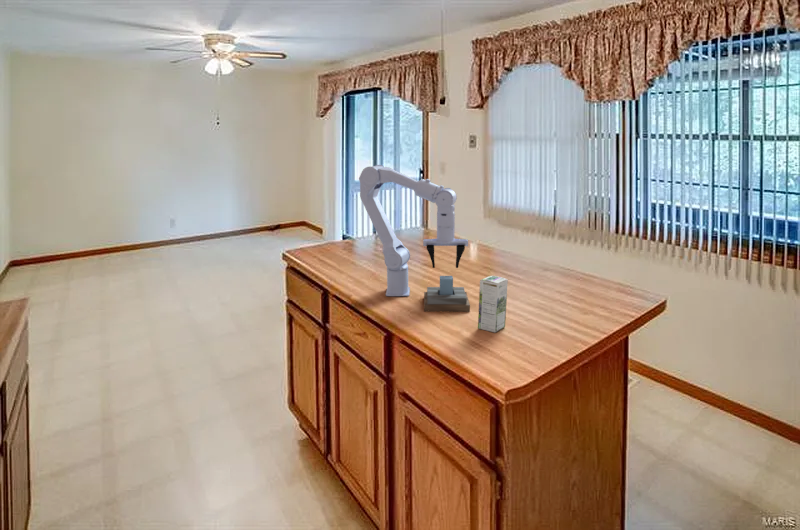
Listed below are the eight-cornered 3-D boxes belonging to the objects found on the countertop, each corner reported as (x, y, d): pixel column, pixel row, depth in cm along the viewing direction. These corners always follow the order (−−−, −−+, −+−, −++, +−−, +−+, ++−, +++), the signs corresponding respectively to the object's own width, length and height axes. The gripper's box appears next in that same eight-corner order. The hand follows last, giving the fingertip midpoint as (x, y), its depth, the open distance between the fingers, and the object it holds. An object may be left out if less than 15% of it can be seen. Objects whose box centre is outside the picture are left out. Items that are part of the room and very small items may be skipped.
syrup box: (487, 323, 156) (489, 274, 152) (506, 327, 152) (508, 278, 148) (477, 328, 151) (478, 279, 148) (496, 333, 148) (497, 282, 144)
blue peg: (439, 296, 174) (439, 275, 172) (452, 296, 174) (452, 275, 172) (440, 300, 170) (440, 279, 168) (452, 300, 170) (453, 279, 168)
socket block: (424, 297, 179) (424, 286, 178) (466, 297, 179) (466, 286, 178) (424, 311, 166) (424, 299, 165) (469, 311, 165) (470, 299, 164)
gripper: (423, 228, 170) (423, 270, 174) (469, 228, 169) (468, 270, 173) (423, 224, 177) (423, 264, 180) (467, 224, 176) (466, 264, 180)
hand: (445, 267), depth 177 cm, fingers open, 7 cm apart
